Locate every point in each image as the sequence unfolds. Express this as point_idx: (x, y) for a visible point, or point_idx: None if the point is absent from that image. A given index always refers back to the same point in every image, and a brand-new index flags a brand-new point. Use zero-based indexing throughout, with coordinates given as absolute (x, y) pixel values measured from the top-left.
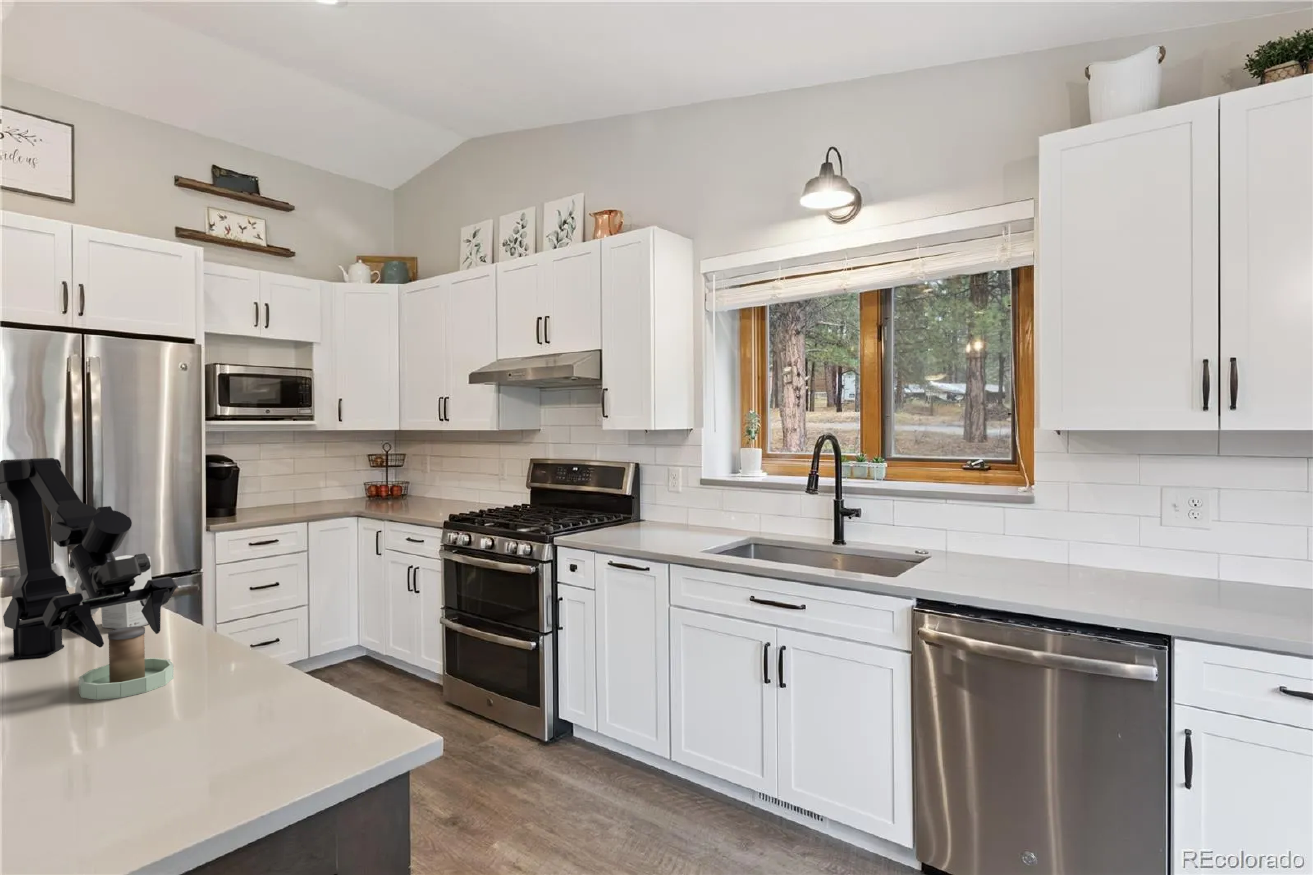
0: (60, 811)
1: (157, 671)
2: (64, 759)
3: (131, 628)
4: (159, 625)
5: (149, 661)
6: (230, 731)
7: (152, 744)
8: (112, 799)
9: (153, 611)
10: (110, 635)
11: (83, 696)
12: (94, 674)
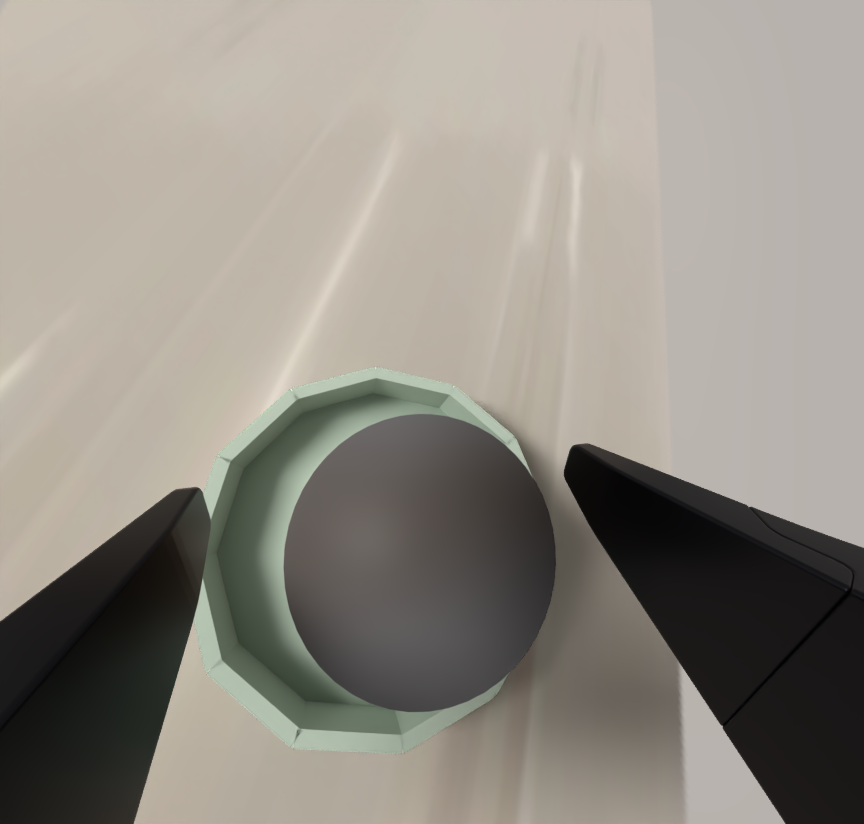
0: (611, 33)
1: (247, 575)
2: (595, 159)
3: (376, 604)
4: (151, 512)
5: (240, 665)
6: (359, 10)
7: (478, 85)
8: (562, 5)
9: (38, 680)
10: (546, 508)
11: None
12: None
